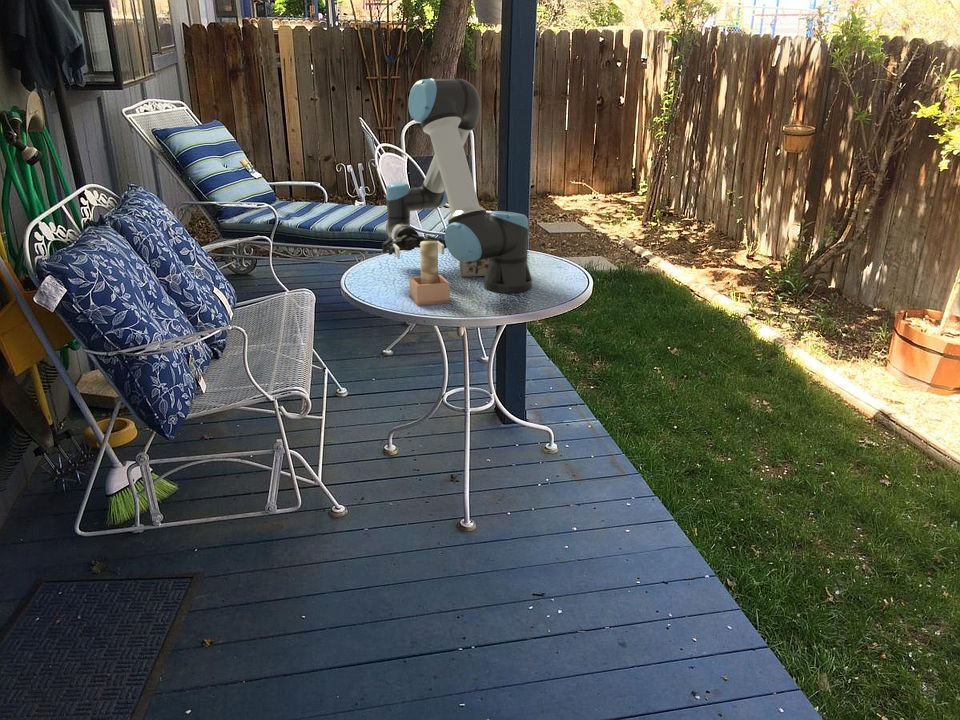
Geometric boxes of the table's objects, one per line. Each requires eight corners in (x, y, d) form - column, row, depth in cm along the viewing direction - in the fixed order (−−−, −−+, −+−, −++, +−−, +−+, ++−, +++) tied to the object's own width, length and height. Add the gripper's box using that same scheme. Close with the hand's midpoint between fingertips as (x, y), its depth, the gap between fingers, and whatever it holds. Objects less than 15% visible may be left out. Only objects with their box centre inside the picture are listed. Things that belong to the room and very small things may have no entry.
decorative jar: (495, 268, 255) (496, 216, 248) (495, 277, 244) (496, 222, 238) (460, 268, 255) (460, 215, 249) (458, 277, 244) (458, 222, 238)
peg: (435, 293, 223) (435, 240, 217) (440, 298, 218) (439, 243, 213) (419, 294, 221) (418, 241, 215) (423, 299, 217) (422, 244, 211)
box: (441, 294, 226) (440, 274, 223) (449, 303, 217) (449, 283, 215) (409, 296, 223) (409, 277, 221) (417, 305, 214) (416, 285, 212)
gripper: (442, 246, 247) (461, 260, 228) (367, 251, 240) (380, 266, 221) (442, 223, 244) (460, 236, 225) (366, 227, 237) (379, 241, 218)
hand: (420, 251), depth 223 cm, fingers open, 13 cm apart
